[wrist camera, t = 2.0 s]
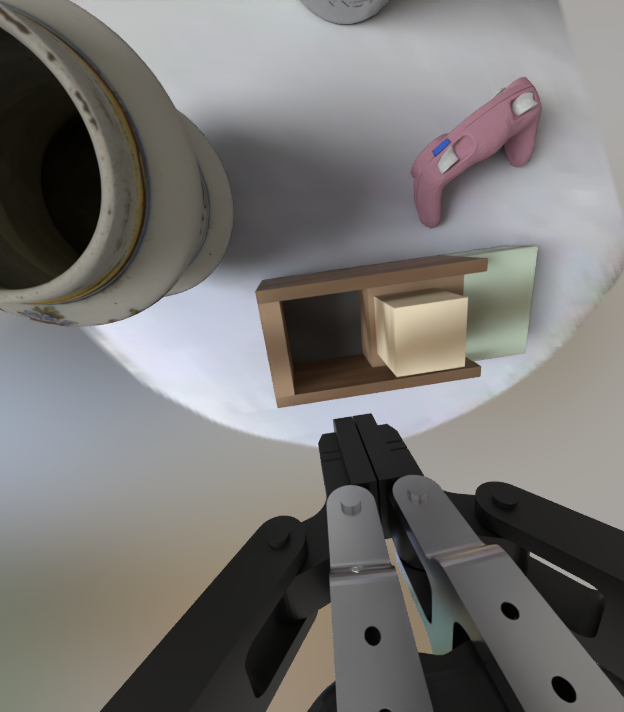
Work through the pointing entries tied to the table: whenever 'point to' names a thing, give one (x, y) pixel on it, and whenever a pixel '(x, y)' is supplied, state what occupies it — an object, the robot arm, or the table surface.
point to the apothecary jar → (97, 175)
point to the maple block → (421, 330)
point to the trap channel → (358, 327)
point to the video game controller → (477, 144)
